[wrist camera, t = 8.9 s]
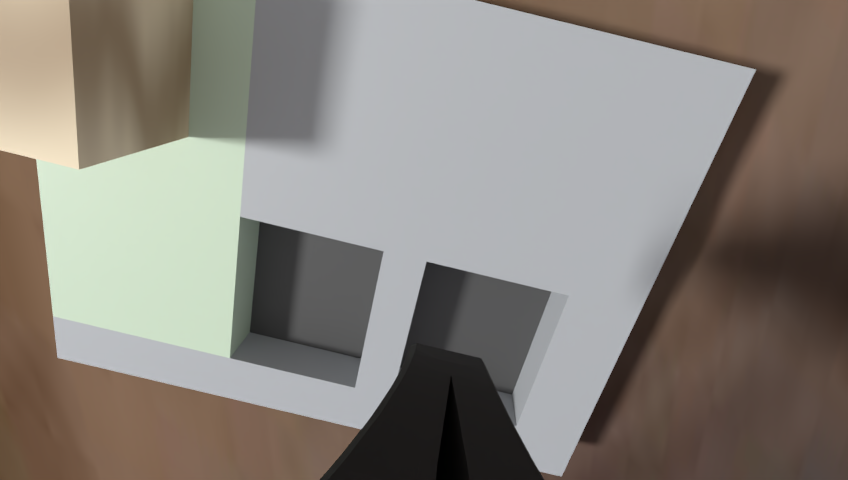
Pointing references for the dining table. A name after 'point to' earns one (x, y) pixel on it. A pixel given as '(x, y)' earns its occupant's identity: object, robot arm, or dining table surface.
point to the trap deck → (390, 208)
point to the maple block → (93, 77)
